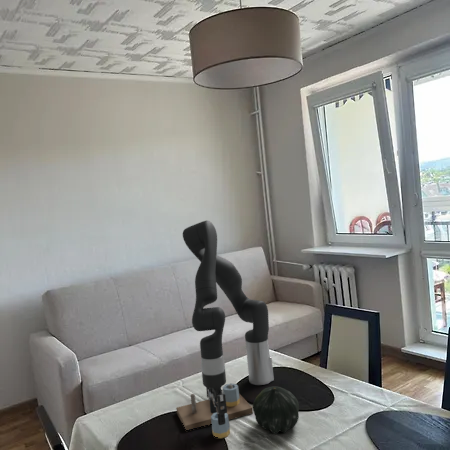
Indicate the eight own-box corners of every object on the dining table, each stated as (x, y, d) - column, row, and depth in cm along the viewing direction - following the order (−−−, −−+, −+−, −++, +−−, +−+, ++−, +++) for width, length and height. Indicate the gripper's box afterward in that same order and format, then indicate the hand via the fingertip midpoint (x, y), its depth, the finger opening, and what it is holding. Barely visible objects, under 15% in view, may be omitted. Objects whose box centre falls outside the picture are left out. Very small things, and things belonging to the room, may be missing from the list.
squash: (273, 393, 157) (255, 373, 148) (312, 404, 148) (294, 383, 139) (258, 432, 150) (238, 414, 141) (297, 447, 141) (278, 428, 132)
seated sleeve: (236, 398, 163) (234, 382, 163) (241, 404, 159) (239, 387, 158) (222, 401, 162) (221, 385, 161) (227, 407, 157) (225, 391, 156)
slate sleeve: (226, 427, 148) (224, 410, 147) (231, 435, 143) (229, 417, 142) (211, 431, 146) (209, 414, 145) (216, 439, 141) (214, 421, 140)
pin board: (238, 397, 169) (236, 374, 168) (252, 413, 155) (250, 388, 155) (176, 412, 161) (174, 389, 160) (186, 431, 148) (183, 405, 147)
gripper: (231, 374, 137) (236, 425, 138) (217, 359, 151) (222, 406, 152) (208, 379, 135) (213, 431, 136) (196, 364, 148) (200, 411, 149)
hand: (217, 418), depth 144 cm, fingers open, 8 cm apart
